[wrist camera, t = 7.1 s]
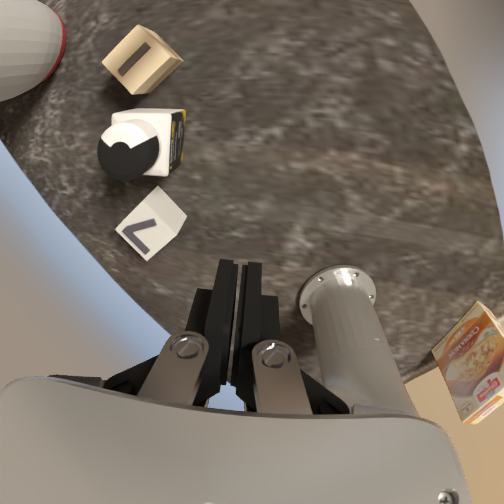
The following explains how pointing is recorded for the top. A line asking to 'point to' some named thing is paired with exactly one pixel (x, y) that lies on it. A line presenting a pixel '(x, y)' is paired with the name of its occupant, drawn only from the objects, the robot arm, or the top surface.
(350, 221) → the top surface
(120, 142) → the medicine bottle
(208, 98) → the top surface
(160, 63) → the maple block one
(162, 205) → the white marked cube
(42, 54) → the citrus juicer
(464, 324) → the coffeecake box
